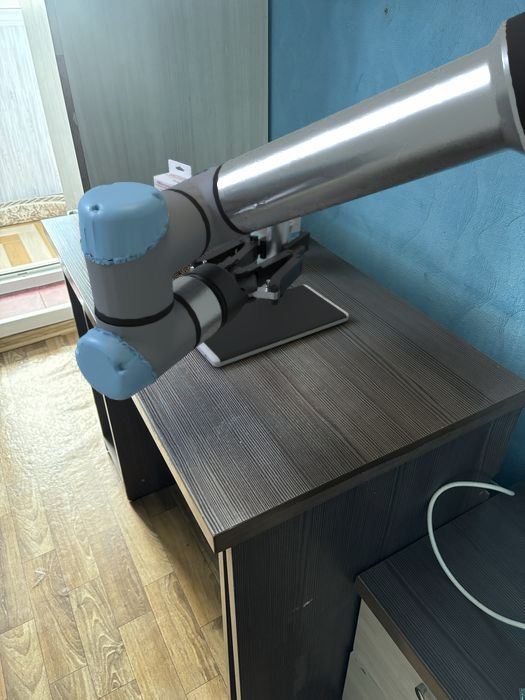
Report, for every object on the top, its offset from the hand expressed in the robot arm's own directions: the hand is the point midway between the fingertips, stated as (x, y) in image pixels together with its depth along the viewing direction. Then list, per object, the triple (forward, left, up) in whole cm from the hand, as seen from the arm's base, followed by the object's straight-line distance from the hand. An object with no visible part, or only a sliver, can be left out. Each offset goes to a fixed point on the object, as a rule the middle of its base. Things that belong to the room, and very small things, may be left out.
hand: (295, 237), depth 76 cm
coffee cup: (+18, -19, -18) cm, 32 cm away
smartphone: (+5, 0, -18) cm, 19 cm away
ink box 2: (+26, -31, -18) cm, 45 cm away
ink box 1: (+48, -21, -18) cm, 56 cm away
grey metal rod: (-1, +5, -7) cm, 9 cm away
